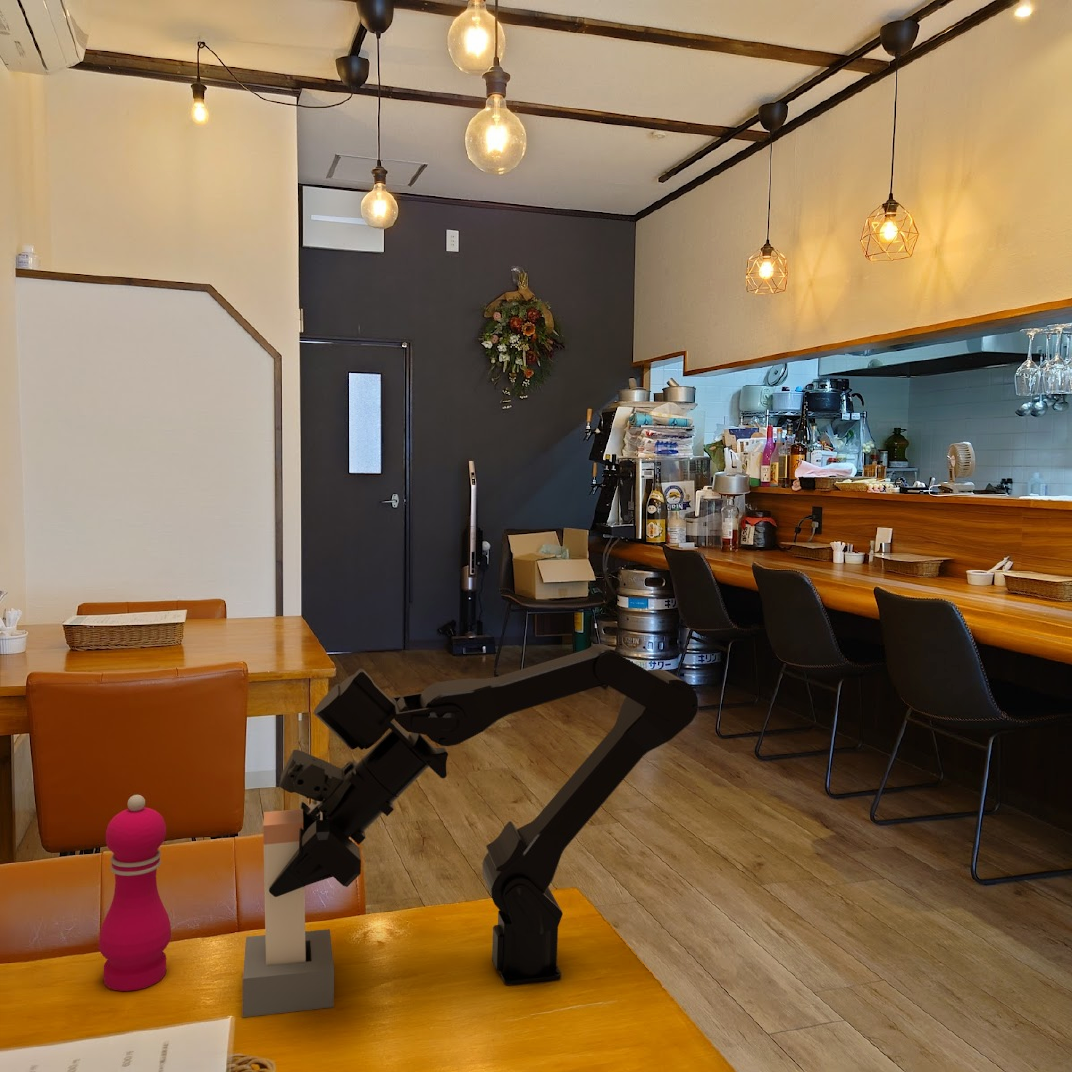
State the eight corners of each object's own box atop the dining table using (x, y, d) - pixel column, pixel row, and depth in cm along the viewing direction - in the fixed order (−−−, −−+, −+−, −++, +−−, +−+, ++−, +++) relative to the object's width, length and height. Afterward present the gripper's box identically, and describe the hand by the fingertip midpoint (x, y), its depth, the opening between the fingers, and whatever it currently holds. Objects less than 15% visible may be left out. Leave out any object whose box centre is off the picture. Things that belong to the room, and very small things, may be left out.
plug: (305, 943, 103) (302, 808, 102) (305, 961, 100) (303, 822, 99) (267, 948, 102) (264, 812, 101) (266, 966, 99) (263, 825, 98)
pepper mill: (145, 998, 99) (146, 809, 97) (83, 989, 100) (84, 802, 99) (184, 964, 106) (185, 787, 105) (126, 955, 107) (127, 781, 106)
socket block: (329, 963, 107) (329, 929, 107) (333, 1007, 98) (334, 969, 98) (245, 972, 104) (246, 936, 104) (242, 1017, 96) (242, 978, 96)
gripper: (326, 706, 110) (224, 804, 108) (328, 751, 91) (206, 871, 89) (393, 770, 112) (295, 868, 110) (408, 827, 94) (291, 945, 92)
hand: (272, 884), depth 100 cm, fingers closed on plug, 4 cm apart
